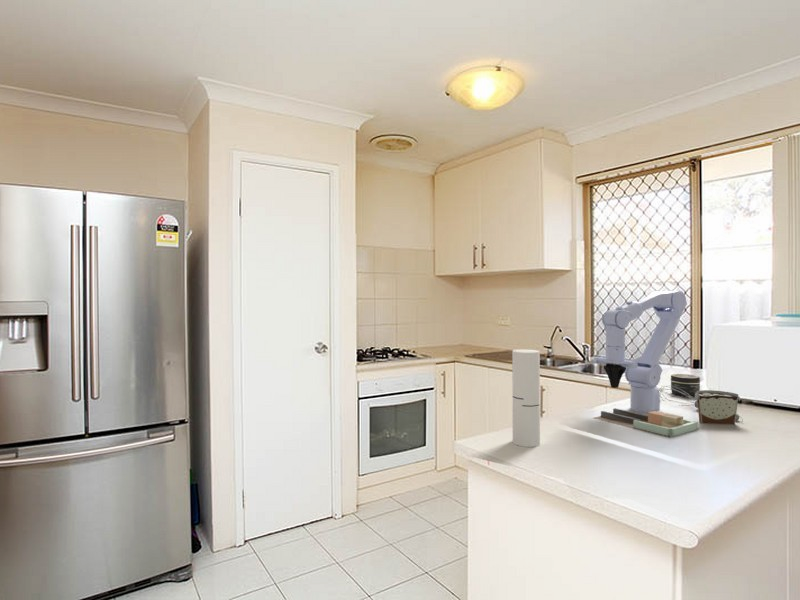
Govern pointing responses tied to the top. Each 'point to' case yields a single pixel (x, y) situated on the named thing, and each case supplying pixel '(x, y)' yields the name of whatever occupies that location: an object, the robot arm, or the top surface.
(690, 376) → the jar
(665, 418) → the birch block
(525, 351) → the cylindrical container
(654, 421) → the terracotta block
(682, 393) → the kitchen whisk
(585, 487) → the top surface
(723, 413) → the food container
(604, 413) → the groove board
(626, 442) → the top surface
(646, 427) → the tray
